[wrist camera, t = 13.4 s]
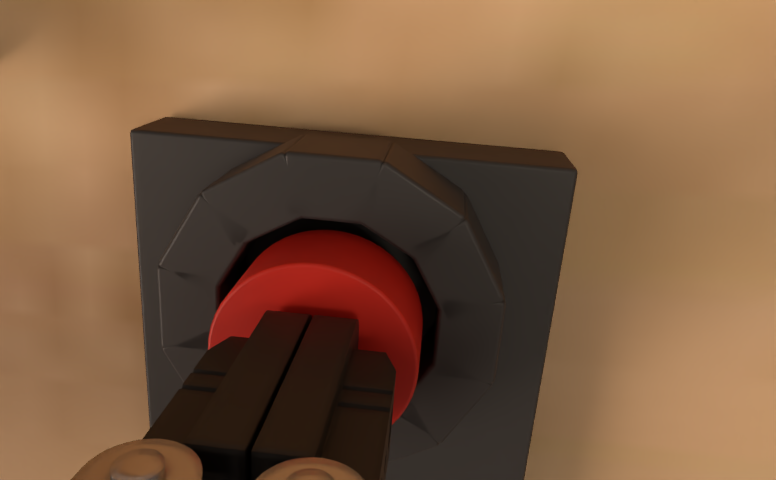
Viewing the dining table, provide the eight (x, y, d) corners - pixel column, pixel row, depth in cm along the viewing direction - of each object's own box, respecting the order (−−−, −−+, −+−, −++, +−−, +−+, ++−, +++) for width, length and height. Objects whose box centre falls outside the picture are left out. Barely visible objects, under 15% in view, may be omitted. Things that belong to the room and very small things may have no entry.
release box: (503, 515, 17) (516, 631, 14) (181, 474, 18) (120, 578, 15) (566, 140, 14) (601, 180, 11) (163, 105, 15) (78, 132, 11)
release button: (414, 406, 13) (409, 464, 11) (239, 386, 13) (209, 440, 12) (431, 238, 12) (428, 275, 10) (237, 219, 12) (203, 253, 10)
